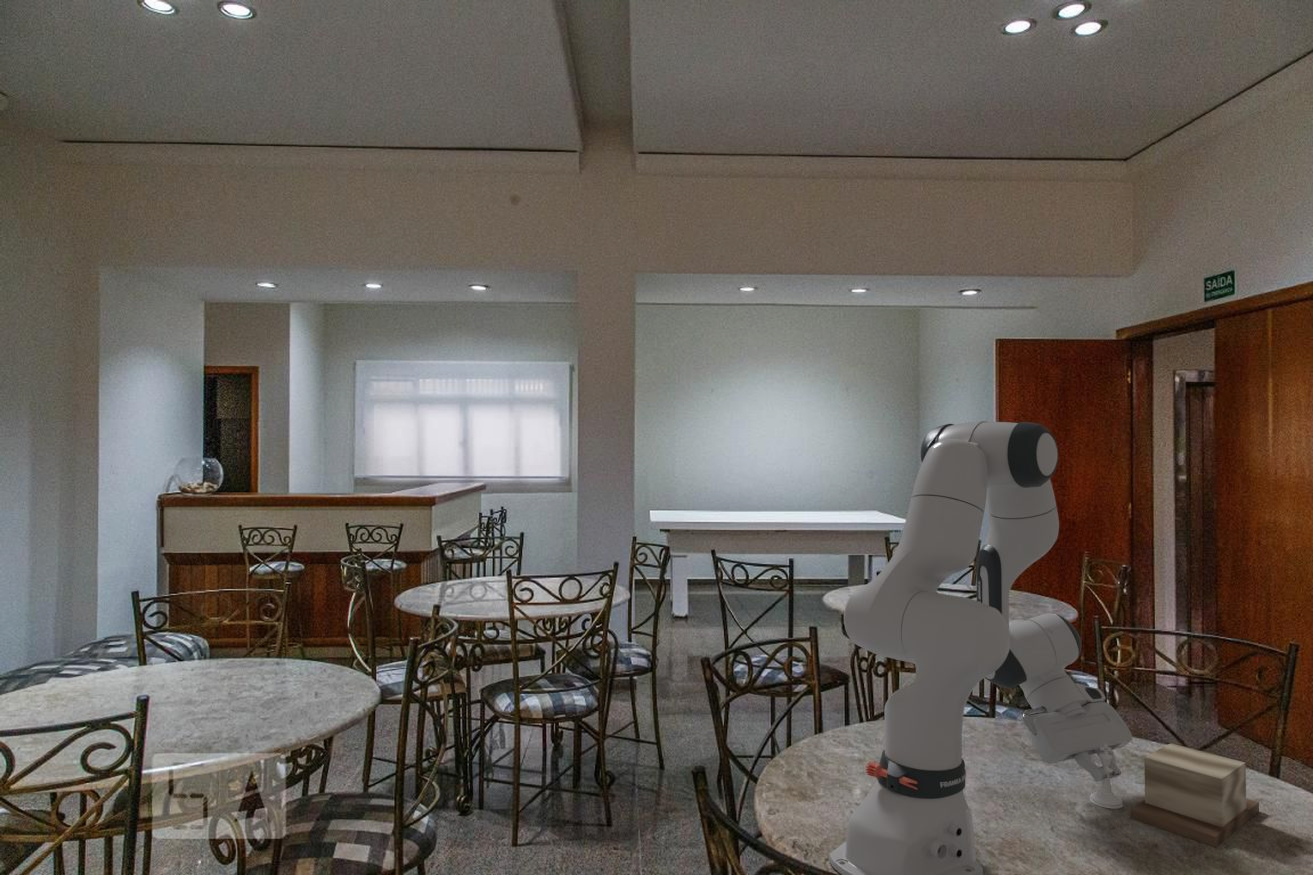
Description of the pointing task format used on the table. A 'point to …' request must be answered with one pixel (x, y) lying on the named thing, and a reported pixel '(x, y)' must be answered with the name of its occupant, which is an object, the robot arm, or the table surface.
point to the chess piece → (1106, 785)
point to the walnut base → (1194, 794)
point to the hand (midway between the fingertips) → (1109, 777)
